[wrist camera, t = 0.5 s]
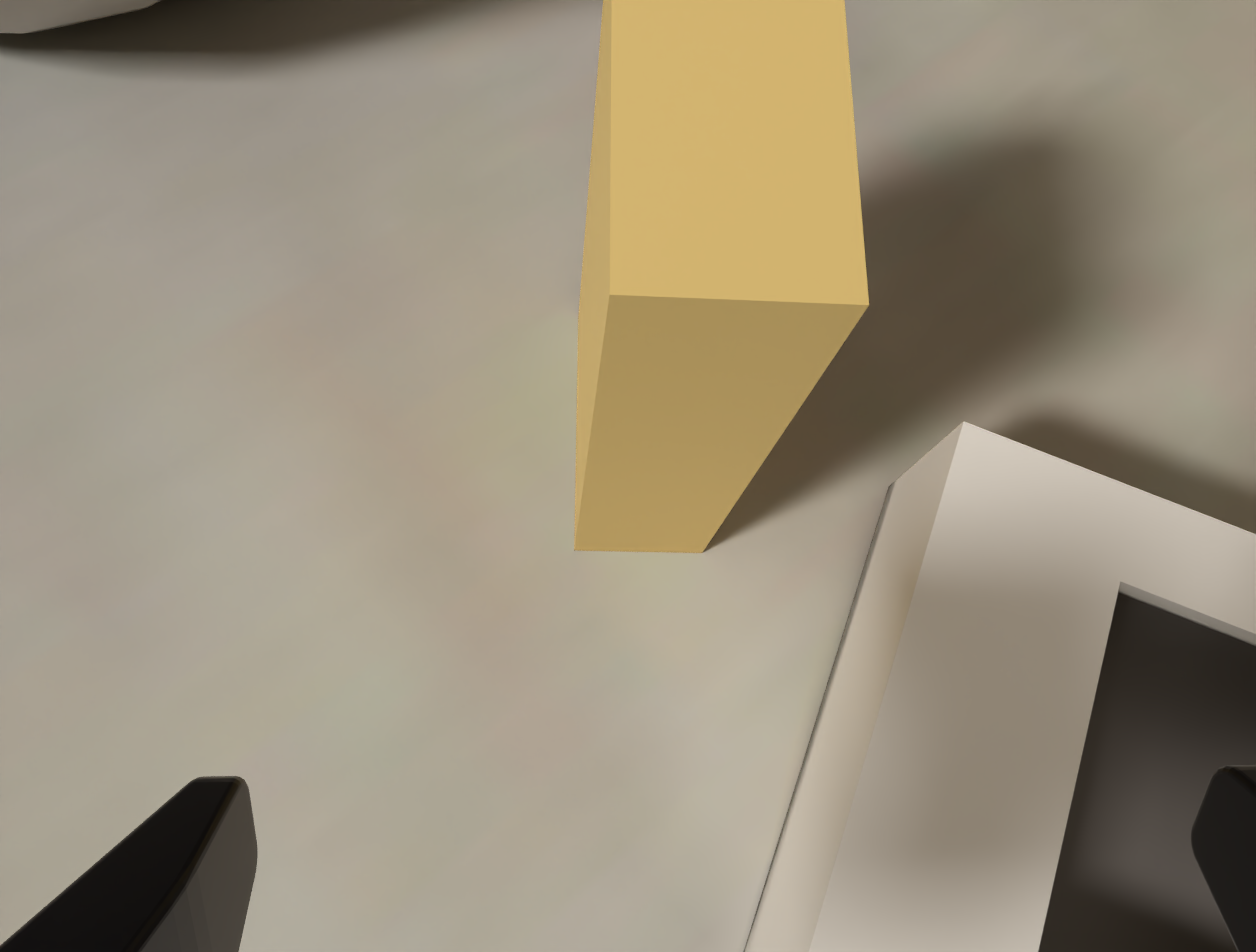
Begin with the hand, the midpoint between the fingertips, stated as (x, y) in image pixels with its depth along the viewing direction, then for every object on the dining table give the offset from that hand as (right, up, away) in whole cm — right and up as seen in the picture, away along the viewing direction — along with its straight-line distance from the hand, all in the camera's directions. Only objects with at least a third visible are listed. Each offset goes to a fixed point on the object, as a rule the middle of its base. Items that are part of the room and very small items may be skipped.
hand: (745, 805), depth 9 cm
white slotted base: (+9, -5, +13) cm, 16 cm away
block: (-1, +4, +15) cm, 16 cm away
